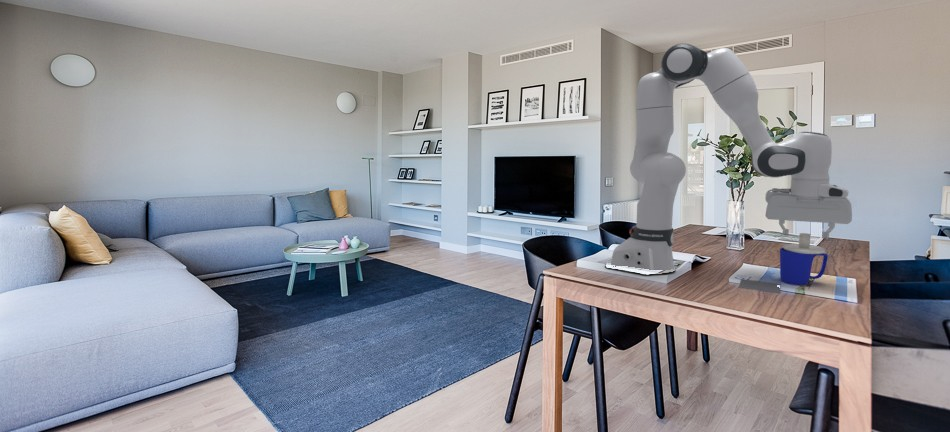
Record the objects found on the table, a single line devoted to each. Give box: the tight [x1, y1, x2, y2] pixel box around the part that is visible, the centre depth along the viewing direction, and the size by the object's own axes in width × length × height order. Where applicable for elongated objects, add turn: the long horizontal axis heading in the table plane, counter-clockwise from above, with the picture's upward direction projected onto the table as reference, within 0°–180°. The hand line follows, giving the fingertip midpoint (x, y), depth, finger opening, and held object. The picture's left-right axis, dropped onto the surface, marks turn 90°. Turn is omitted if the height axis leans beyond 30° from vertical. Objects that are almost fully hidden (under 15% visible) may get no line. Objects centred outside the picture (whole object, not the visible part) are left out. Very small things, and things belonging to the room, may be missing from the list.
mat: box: [738, 278, 782, 294], centre depth 133 cm, size 10×10×1 cm
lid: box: [782, 232, 826, 254], centre depth 134 cm, size 10×10×5 cm
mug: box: [779, 247, 829, 286], centre depth 135 cm, size 8×12×10 cm
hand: (804, 236), depth 134 cm, fingers open, 8 cm apart
